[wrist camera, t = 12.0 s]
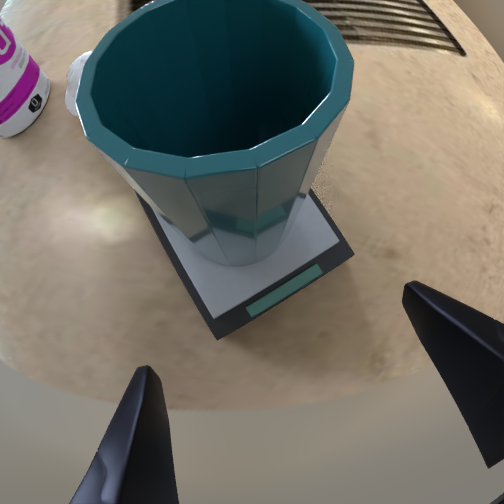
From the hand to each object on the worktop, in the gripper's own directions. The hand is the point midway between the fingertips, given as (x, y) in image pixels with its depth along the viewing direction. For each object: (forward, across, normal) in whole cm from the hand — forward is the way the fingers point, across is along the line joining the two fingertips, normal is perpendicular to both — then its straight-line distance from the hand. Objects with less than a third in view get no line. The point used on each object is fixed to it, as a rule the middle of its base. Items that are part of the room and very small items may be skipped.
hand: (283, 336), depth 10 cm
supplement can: (+27, +18, -12) cm, 34 cm away
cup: (+11, 0, +1) cm, 11 cm away
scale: (+12, 0, +3) cm, 13 cm away
